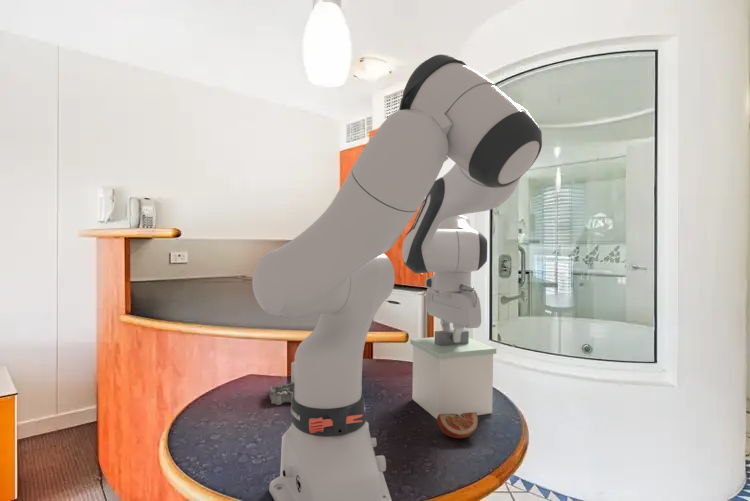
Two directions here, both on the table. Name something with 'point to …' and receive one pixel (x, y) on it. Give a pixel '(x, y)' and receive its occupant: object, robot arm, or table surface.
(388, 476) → the table surface
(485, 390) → the box
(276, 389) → the egg carton
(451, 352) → the lid
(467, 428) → the fruit slice
